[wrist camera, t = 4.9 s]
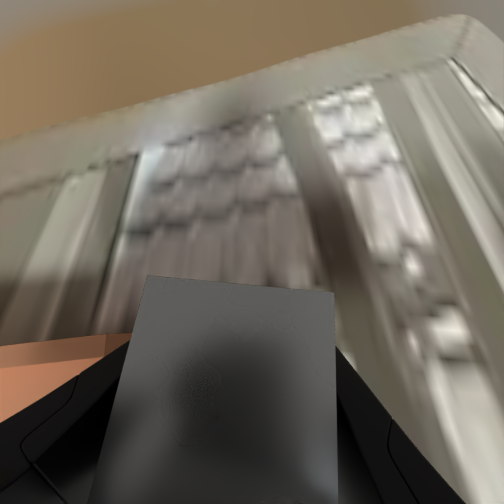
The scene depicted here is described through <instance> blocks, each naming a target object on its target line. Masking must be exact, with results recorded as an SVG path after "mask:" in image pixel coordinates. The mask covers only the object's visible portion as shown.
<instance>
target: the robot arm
mask: <svg viewBox="0 0 504 504" xmlns="http://www.w3.org/2000/svg"><path fill="white" fill-rule="evenodd" d="M129 343H130V340H129V341H127V342H126V343H124V344H123V345H121V346H120V347H118V348H117V349H115V350H114V351H112V352H111V353H109V354H108V355H106V356H105V357H103V358H102V359H100V360H99V361H97V362H96V363H94V364H93V365H91V366H90V367H88V368H87V369H85V370H84V371H82V372H81V373H80V374H79V375H76V376H74V377H73V378H71V379H70V380H68V381H67V382H65V383H64V384H62V385H61V386H59V387H58V388H56V389H55V390H53V391H52V392H50V393H48V394H47V395H45V396H44V397H42V398H41V399H39V400H37V401H36V402H34V403H32V404H31V405H29V406H27V407H26V408H24V409H22V410H21V411H19V412H18V413H16V414H14V415H12V416H11V417H9V418H7V419H6V420H4V421H2V422H1V423H0V504H87V502H88V498H89V494H90V490H91V487H92V483H93V479H94V475H95V471H96V468H97V464H98V460H99V456H100V453H101V449H102V445H103V441H104V438H105V434H106V430H107V426H108V422H109V419H110V415H111V411H112V407H113V404H114V400H115V396H116V392H117V388H118V385H119V381H120V377H121V373H122V370H123V366H124V362H125V358H126V354H127V351H128V347H129ZM335 355H336V408H337V461H338V504H466V503H465V502H464V501H463V500H462V499H461V498H460V497H459V496H458V494H457V493H456V492H455V491H454V490H453V489H452V488H451V487H450V486H449V484H448V483H447V482H446V481H445V480H444V479H443V478H442V476H441V475H440V474H439V473H438V472H437V471H436V470H435V468H434V467H433V466H432V465H431V464H430V463H429V462H428V460H427V459H426V458H425V457H424V456H423V455H422V454H421V452H420V451H419V450H418V449H417V447H416V446H415V445H414V444H413V443H412V441H411V440H410V439H409V438H408V436H407V435H406V434H405V433H404V431H403V430H402V429H401V428H400V426H399V425H398V424H397V423H396V421H395V420H394V419H392V416H391V415H390V414H389V413H388V411H387V410H386V409H385V408H384V406H383V405H382V404H381V402H380V401H379V400H378V399H377V397H376V396H375V395H374V394H373V392H372V391H371V390H370V389H369V387H368V386H367V385H366V383H365V382H364V381H363V380H362V378H361V377H360V376H359V375H358V373H357V372H356V371H355V369H354V368H353V367H352V366H351V364H350V363H349V362H348V361H347V359H346V358H345V357H344V356H343V354H342V353H341V352H340V350H339V349H338V348H337V347H336V345H335Z"/></svg>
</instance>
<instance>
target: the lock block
mask: <svg viewBox="0 0 504 504" xmlns="http://www.w3.org/2000/svg"><path fill="white" fill-rule="evenodd" d="M87 504H338V461H337V408H336V355H335V302H334V293H332V292H321V291H310V290H300V289H289V288H278V287H267V286H256V285H245V284H235V283H224V282H213V281H202V280H191V279H180V278H169V277H159V276H148V275H147V279H146V283H145V286H144V290H143V294H142V298H141V302H140V305H139V309H138V313H137V317H136V320H135V324H134V328H133V332H132V336H131V339H130V343H129V347H128V351H127V354H126V358H125V362H124V366H123V370H122V373H121V377H120V381H119V385H118V388H117V392H116V396H115V400H114V404H113V407H112V411H111V415H110V419H109V422H108V426H107V430H106V434H105V438H104V441H103V445H102V449H101V453H100V456H99V460H98V464H97V468H96V471H95V475H94V479H93V483H92V487H91V490H90V494H89V498H88V502H87Z"/></svg>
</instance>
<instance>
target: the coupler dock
mask: <svg viewBox="0 0 504 504" xmlns="http://www.w3.org/2000/svg"><path fill="white" fill-rule="evenodd" d="M131 336H132V333H118V334H102V335H93V336H84V337H75V338H67V339H58V340H49V341H40V342H32V343H23V344H14V345H5V346H0V423H1V422H2V421H4V420H6V419H7V418H9V417H11V416H12V415H14V414H16V413H18V412H19V411H21V410H22V409H24V408H26V407H27V406H29V405H31V404H32V403H34V402H36V401H37V400H39V399H41V398H42V397H44V396H45V395H47V394H48V393H50V392H52V391H53V390H55V389H56V388H58V387H59V386H61V385H62V384H64V383H65V382H67V381H68V380H70V379H71V378H73V377H74V376H76V375H79V374H80V373H81V372H82V371H84V370H85V369H87V368H88V367H90V366H91V365H93V364H94V363H96V362H97V361H99V360H100V359H102V358H103V357H105V356H106V355H108V354H109V353H111V352H112V351H114V350H115V349H117V348H118V347H120V346H121V345H123V344H124V343H126V342H127V341H129V340H130V339H131Z"/></svg>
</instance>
